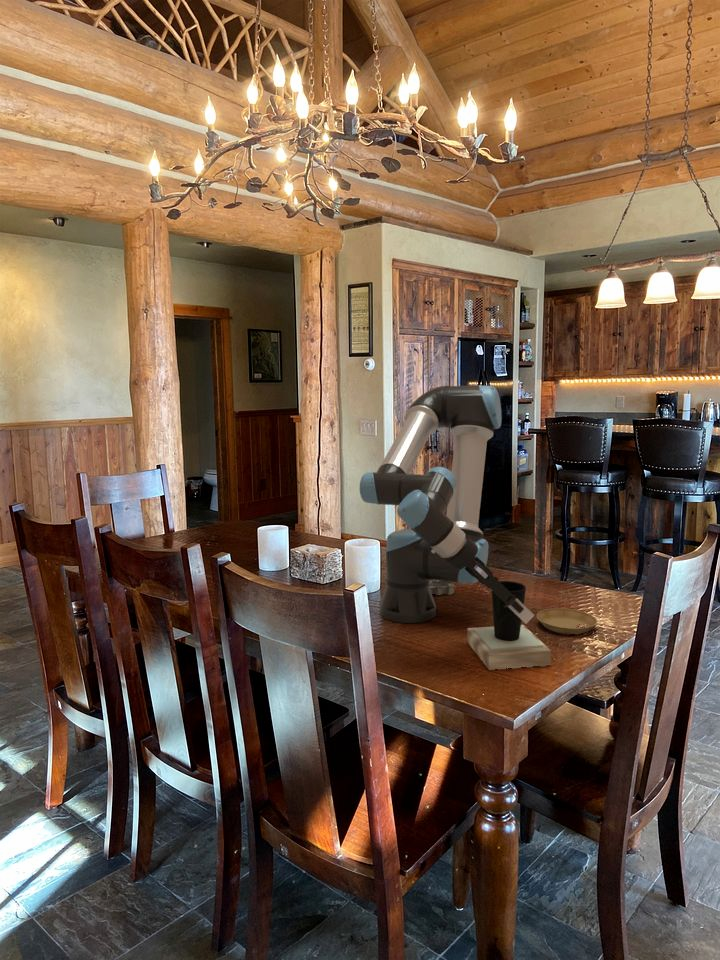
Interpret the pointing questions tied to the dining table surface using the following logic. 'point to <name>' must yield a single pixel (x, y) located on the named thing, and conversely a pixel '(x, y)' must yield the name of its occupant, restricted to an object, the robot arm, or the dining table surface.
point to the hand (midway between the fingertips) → (520, 611)
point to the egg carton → (441, 587)
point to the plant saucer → (566, 620)
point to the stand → (508, 649)
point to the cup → (507, 613)
